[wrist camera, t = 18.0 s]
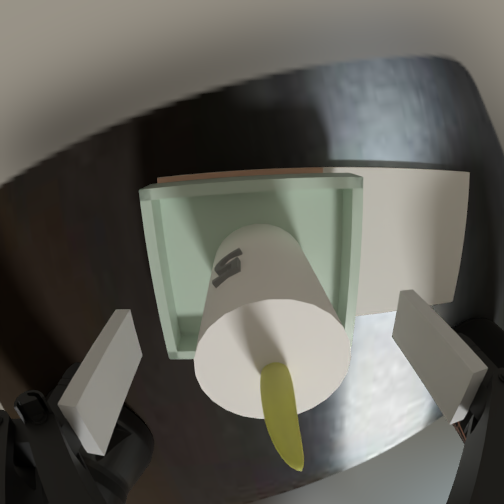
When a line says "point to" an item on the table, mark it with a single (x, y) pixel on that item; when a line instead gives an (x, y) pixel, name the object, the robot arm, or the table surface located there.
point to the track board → (398, 230)
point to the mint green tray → (242, 214)
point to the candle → (269, 335)
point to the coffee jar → (491, 343)
